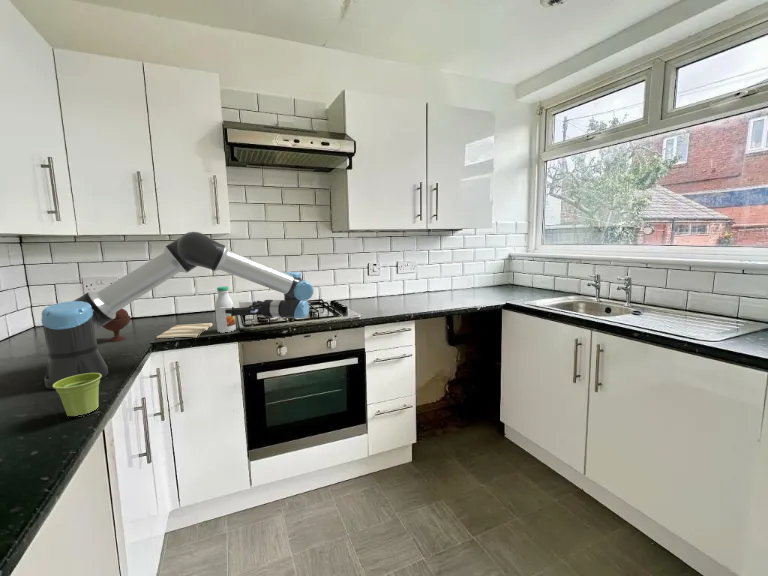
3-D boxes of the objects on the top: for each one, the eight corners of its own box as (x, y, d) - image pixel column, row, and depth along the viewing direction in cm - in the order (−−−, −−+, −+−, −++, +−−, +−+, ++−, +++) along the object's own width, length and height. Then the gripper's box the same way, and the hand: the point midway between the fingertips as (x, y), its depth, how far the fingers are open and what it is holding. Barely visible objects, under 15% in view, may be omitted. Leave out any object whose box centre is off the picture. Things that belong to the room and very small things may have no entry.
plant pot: (49, 418, 91) (43, 384, 90) (91, 401, 100) (86, 370, 98) (74, 424, 88) (68, 389, 86) (115, 406, 96) (110, 374, 95)
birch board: (196, 337, 159) (196, 334, 159) (156, 339, 157) (156, 336, 157) (212, 325, 179) (212, 323, 179) (177, 327, 177) (176, 324, 177)
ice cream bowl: (96, 345, 152) (91, 308, 149) (108, 337, 162) (103, 303, 160) (126, 342, 155) (121, 306, 152) (136, 335, 165) (132, 301, 163)
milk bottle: (220, 334, 163) (216, 288, 160) (215, 331, 169) (210, 287, 165) (238, 330, 168) (234, 286, 165) (232, 327, 174) (228, 285, 170)
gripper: (258, 324, 150) (212, 322, 155) (287, 310, 174) (247, 309, 179) (256, 305, 149) (210, 304, 154) (286, 294, 173) (246, 294, 178)
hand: (230, 307), depth 167 cm, fingers open, 13 cm apart
